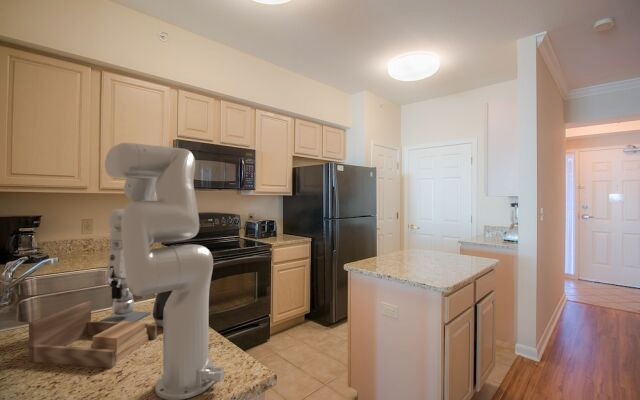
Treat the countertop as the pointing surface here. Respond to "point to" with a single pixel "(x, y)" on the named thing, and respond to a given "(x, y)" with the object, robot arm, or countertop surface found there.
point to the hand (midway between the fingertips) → (123, 295)
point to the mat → (127, 317)
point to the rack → (72, 338)
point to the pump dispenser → (160, 307)
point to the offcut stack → (122, 338)
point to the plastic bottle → (123, 300)
